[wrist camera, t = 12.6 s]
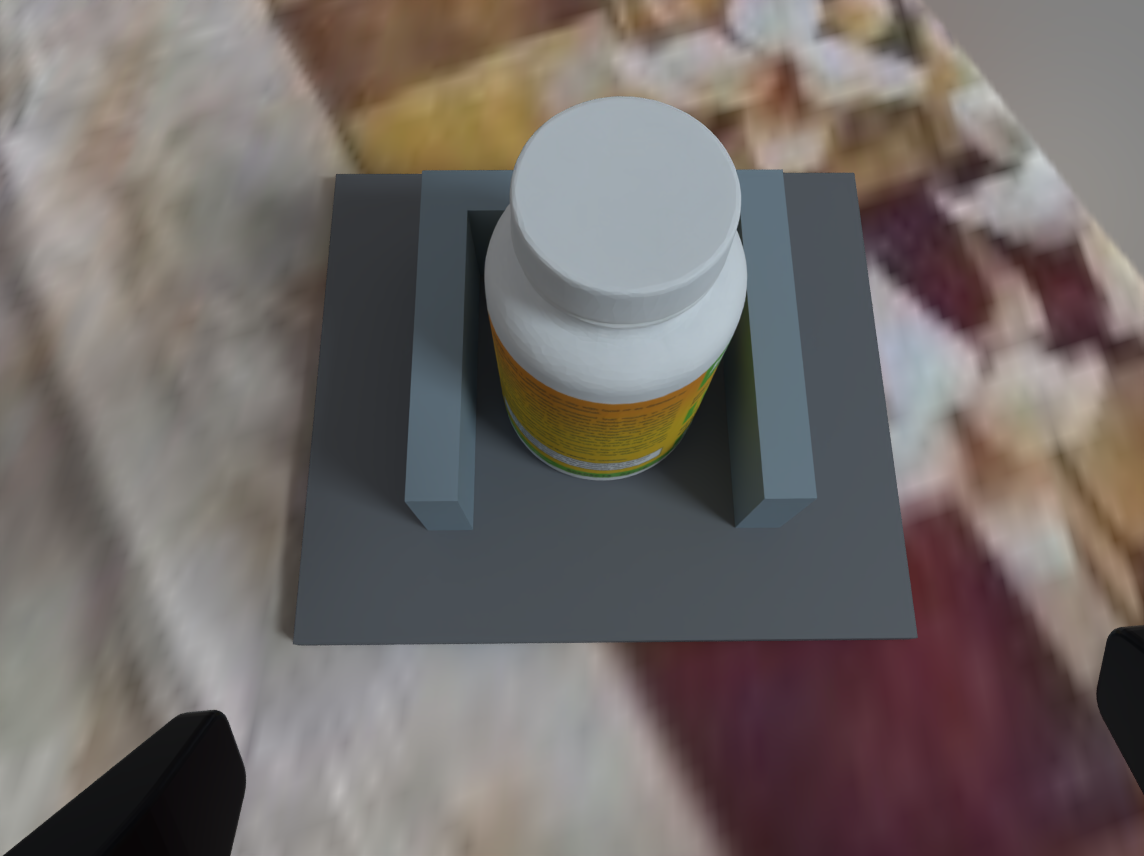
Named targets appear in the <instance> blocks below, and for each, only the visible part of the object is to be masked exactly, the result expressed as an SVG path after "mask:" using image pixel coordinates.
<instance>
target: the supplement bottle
mask: <svg viewBox="0 0 1144 856" xmlns="http://www.w3.org/2000/svg"><path fill="white" fill-rule="evenodd" d="M740 210H741V190H740V183H739V179H738V176H737V172H736V169H735V166H734V164H733V162H732V160H731V158H730V156H729V154H728V153H727V151H726V149H725V148H724V146H723V145H722V143H721V142H720V141H719V140H718V139H717V137H716V136H715V135H714V134H713V133H712V132H711V131H710V130H709V129H708V128H706V127H705V126H704V125H703V124H702V123H701V122H699V121H698V120H696V119H695V118H693V117H692V116H690V115H689V114H687V113H685V112H683V111H681V110H679V109H677V108H675V107H672V106H670V105H667V104H665V103H662V102H659V101H655V100H650V99H644V98H639V97H623V96H615V97H605V98H599V99H594V100H590V101H586V102H583V103H580V104H578V105H575V106H572V107H570V108H568V109H566V110H564V111H562V112H560V113H558V114H556V115H555V116H553V117H552V118H551V119H549V120H548V121H547V122H546V123H544V124H543V125H542V126H541V127H540V128H539V129H538V130H537V131H536V132H535V133H534V134H533V135H532V136H531V137H530V139H529V140H528V141H527V143H526V144H525V146H524V147H523V149H522V151H521V153H520V155H519V157H518V159H517V161H516V164H515V167H514V170H513V174H512V178H511V185H510V204H509V205H508V206H507V208H506V209H505V211H504V212H503V214H502V216H501V217H500V219H499V221H498V223H497V225H496V227H495V229H494V231H493V234H492V237H491V239H490V243H489V246H488V250H487V255H486V260H485V276H484V280H485V293H486V301H487V310H488V315H489V320H490V325H491V330H492V336H493V342H494V347H495V353H496V358H497V364H498V370H499V376H500V382H501V387H502V394H503V398H504V402H505V406H506V410H507V413H508V416H509V419H510V421H511V424H512V426H513V428H514V430H515V431H516V433H517V435H518V436H519V438H520V439H521V441H522V442H523V443H524V444H525V446H526V447H527V448H528V449H529V450H530V451H531V452H532V453H533V454H534V455H535V456H536V457H537V458H538V459H540V460H541V461H542V462H544V463H545V464H547V465H548V466H550V467H552V468H553V469H555V470H557V471H560V472H562V473H564V474H567V475H570V476H573V477H577V478H582V479H588V480H616V479H622V478H626V477H630V476H633V475H636V474H638V473H641V472H643V471H645V470H647V469H649V468H651V467H653V466H655V465H656V464H658V463H659V462H660V461H662V460H663V459H665V458H666V457H667V456H668V455H669V454H670V453H671V452H672V451H673V450H674V449H675V448H676V446H677V445H678V444H679V443H680V441H681V440H682V438H683V437H684V435H685V434H686V432H687V431H688V429H689V427H690V425H691V423H692V421H693V419H694V416H695V414H696V412H697V410H698V408H699V406H700V403H701V401H702V399H703V397H704V395H705V393H706V391H707V388H708V386H709V384H710V382H711V380H712V378H713V375H714V373H715V371H716V369H717V367H718V365H719V363H720V361H721V359H722V356H723V354H724V353H725V351H726V349H727V347H728V345H729V343H730V341H731V339H732V337H733V334H734V332H735V329H736V327H737V325H738V322H739V320H740V317H741V313H742V310H743V307H744V302H745V297H746V290H747V265H746V259H745V254H744V250H743V246H742V243H741V240H740V237H739V234H738V232H737V226H738V222H739V218H740Z"/></svg>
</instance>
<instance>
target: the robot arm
mask: <svg viewBox="0 0 1144 856" xmlns="http://www.w3.org/2000/svg"><path fill="white" fill-rule="evenodd" d="M1096 694H1097V703H1098V707H1099V710H1100V713H1101V716H1102V718H1103V720H1104V722H1105V724H1106V725H1107V727H1108V729H1109V731H1110V733H1111V735H1112V737H1113V738H1114V740H1115V742H1116V744H1117V746H1118V748H1119V750H1120V751H1121V753H1122V755H1123V757H1124V759H1125V761H1126V763H1127V764H1128V766H1129V768H1130V770H1131V772H1132V774H1133V776H1134V777H1135V779H1136V781H1137V783H1138V785H1139V787H1140V789H1141V790H1142V792H1143V794H1144V625H1139V626H1128V627H1119V628H1117V629H1114V630H1113V631H1112V632H1111V633H1110V635H1109V636H1108V639H1107V642H1106V647H1105V652H1104V656H1103V661H1102V666H1101V671H1100V675H1099V680H1098V685H1097V693H1096ZM245 789H246V772H245V767H244V764H243V761H242V758H241V755H240V752H239V750H238V747H237V744H236V741H235V739H234V736H233V733H232V730H231V727H230V725H229V722H228V720H227V718H226V716H225V715H224V714H223V713H222V712H220V711H217V710H207V711H196V712H186V713H182V714H180V715H178V716H176V717H175V718H173V719H172V720H171V721H169V722H168V723H167V724H166V725H165V726H163V727H162V728H161V729H160V730H158V731H157V732H156V733H155V734H153V735H152V736H151V737H150V738H148V739H147V740H146V741H145V742H143V743H142V744H141V745H140V746H138V747H137V748H136V749H135V750H133V751H132V752H131V753H130V754H128V755H127V756H126V757H125V758H124V759H122V760H121V761H120V762H119V763H117V764H116V765H115V766H114V767H112V768H111V769H110V770H109V771H107V772H106V773H105V774H104V775H102V776H101V777H100V778H99V779H97V780H96V781H95V782H94V783H92V784H91V785H90V786H89V787H88V788H86V789H85V790H84V791H83V792H81V793H80V794H79V795H78V796H76V797H75V798H74V799H73V800H71V801H70V802H69V803H68V804H66V805H65V806H64V807H63V808H61V809H60V810H59V811H58V812H56V813H55V814H54V815H53V816H51V817H50V818H49V819H48V820H47V821H45V822H44V823H43V824H42V825H40V826H39V827H38V828H37V829H35V830H34V831H33V832H32V833H30V834H29V835H28V836H27V837H25V838H24V839H23V840H22V841H20V842H19V843H18V844H17V845H15V846H14V847H13V848H12V849H11V850H9V851H8V852H7V853H6V854H4V855H3V856H230V855H231V851H232V846H233V842H234V838H235V833H236V829H237V825H238V820H239V816H240V812H241V807H242V803H243V799H244V794H245Z"/></svg>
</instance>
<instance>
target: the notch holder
mask: <svg viewBox="0 0 1144 856" xmlns="http://www.w3.org/2000/svg"><path fill="white" fill-rule="evenodd" d="M736 172H737V176H738V179H739V183H740V190H741V210H740V218H739V222H738V226H737V232H738V234H739V237H740V240H741V243H742V246H743V250H744V254H745V259H746V265H747V290H746V297H745V302H744V307H743V310H742V313H741V317H740V320H739V322H738V325H737V327H736V329H735V332H734V334H733V337H732V339H731V341H730V343H729V345H728V347H727V349H726V351H725V353H724V354H723V356H722V359H721V361H720V363H719V365H718V367H717V369H716V371H715V373H714V375H713V378H712V380H711V382H710V384H709V386H708V388H707V391H706V393H705V395H704V397H703V399H702V401H701V403H700V406H699V408H698V410H697V412H696V414H695V416H694V419H693V421H692V423H691V425H690V427H689V429H688V431H687V432H686V434H685V435H684V437H683V438H682V440H681V441H680V443H679V444H678V445H677V446H676V448H675V449H674V450H673V451H672V452H671V453H670V454H669V455H668V456H667V457H666V458H665V459H663V460H662V461H660V462H659V463H658V464H656V465H655V466H653V467H651V468H649V469H647V470H645V471H643V472H641V473H638V474H636V475H633V476H630V477H626V478H622V479H616V480H588V479H582V478H577V477H573V476H570V475H567V474H564V473H562V472H560V471H557V470H555V469H553V468H552V467H550V466H548V465H547V464H545V463H544V462H542V461H541V460H540V459H538V458H537V457H536V456H535V455H534V454H533V453H532V452H531V451H530V450H529V449H528V448H527V447H526V446H525V444H524V443H523V442H522V441H521V439H520V438H519V436H518V435H517V433H516V431H515V430H514V428H513V426H512V424H511V421H510V419H509V416H508V413H507V410H506V406H505V402H504V398H503V394H502V387H501V382H500V376H499V370H498V364H497V358H496V353H495V347H494V342H493V336H492V330H491V325H490V320H489V315H488V310H487V301H486V293H485V280H484V276H485V260H486V255H487V250H488V246H489V243H490V239H491V237H492V234H493V231H494V229H495V227H496V225H497V223H498V221H499V219H500V217H501V216H502V214H503V212H504V211H505V209H506V208H507V206H508V205H509V204H510V185H511V178H512V174H513V170H448V171H422V174H336V182H335V193H334V204H333V215H332V226H331V236H330V247H329V258H328V269H327V280H326V291H325V302H324V313H323V323H322V334H321V345H320V356H319V367H318V378H317V389H316V400H315V411H314V421H313V432H312V443H311V454H310V465H309V476H308V487H307V498H306V508H305V519H304V530H303V541H302V552H301V563H300V574H299V585H298V596H297V606H296V617H295V628H294V639H293V644H295V645H394V644H494V643H593V642H693V641H793V640H893V639H913V638H918V637H917V629H916V622H915V615H914V607H913V600H912V593H911V585H910V578H909V571H908V563H907V556H906V549H905V541H904V534H903V527H902V519H901V512H900V505H899V497H898V490H897V483H896V475H895V468H894V461H893V453H892V446H891V439H890V432H889V424H888V417H887V410H886V402H885V395H884V388H883V380H882V373H881V366H880V358H879V351H878V344H877V336H876V329H875V322H874V314H873V307H872V300H871V292H870V285H869V278H868V270H867V263H866V256H865V248H864V241H863V234H862V227H861V219H860V212H859V205H858V197H857V190H856V183H855V175H854V173H783V170H736Z"/></svg>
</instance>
